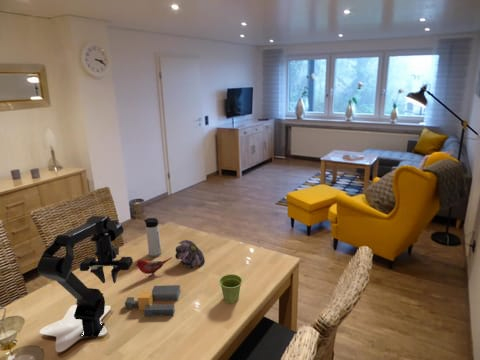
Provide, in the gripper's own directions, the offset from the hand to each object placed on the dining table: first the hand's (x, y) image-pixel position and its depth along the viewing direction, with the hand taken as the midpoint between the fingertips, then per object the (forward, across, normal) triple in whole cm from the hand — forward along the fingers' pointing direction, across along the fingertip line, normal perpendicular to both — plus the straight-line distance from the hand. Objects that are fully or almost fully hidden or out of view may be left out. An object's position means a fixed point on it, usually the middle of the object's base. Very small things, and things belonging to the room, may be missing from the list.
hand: (109, 282), depth 132 cm
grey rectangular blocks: (+11, -20, -1) cm, 23 cm away
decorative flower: (+11, -26, -32) cm, 43 cm away
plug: (+11, -11, 0) cm, 15 cm away
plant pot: (+11, -48, -4) cm, 49 cm away
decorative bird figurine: (+11, -12, -22) cm, 28 cm away
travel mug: (+11, -6, -42) cm, 43 cm away
